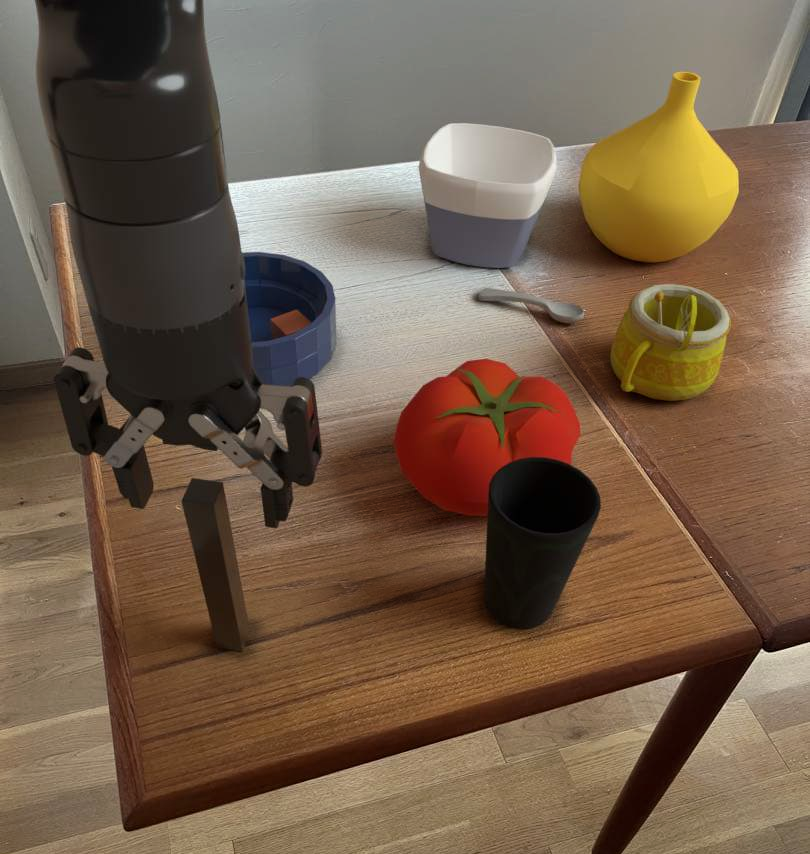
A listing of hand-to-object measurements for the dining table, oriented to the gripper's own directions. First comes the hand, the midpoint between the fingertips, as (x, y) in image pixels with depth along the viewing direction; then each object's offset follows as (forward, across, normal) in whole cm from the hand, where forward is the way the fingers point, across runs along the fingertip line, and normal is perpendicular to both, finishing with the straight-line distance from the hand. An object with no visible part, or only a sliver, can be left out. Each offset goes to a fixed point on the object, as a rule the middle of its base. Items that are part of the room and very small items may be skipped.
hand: (209, 508), depth 52 cm
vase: (+14, +33, +66) cm, 75 cm away
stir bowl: (+14, -8, +35) cm, 38 cm away
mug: (+14, +33, +38) cm, 52 cm away
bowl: (+14, +13, +61) cm, 64 cm away
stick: (+14, 0, -1) cm, 14 cm away
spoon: (+14, +20, +48) cm, 54 cm away
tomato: (+14, +17, +20) cm, 30 cm away
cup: (+14, +21, +7) cm, 26 cm away
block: (+13, -4, +35) cm, 37 cm away
